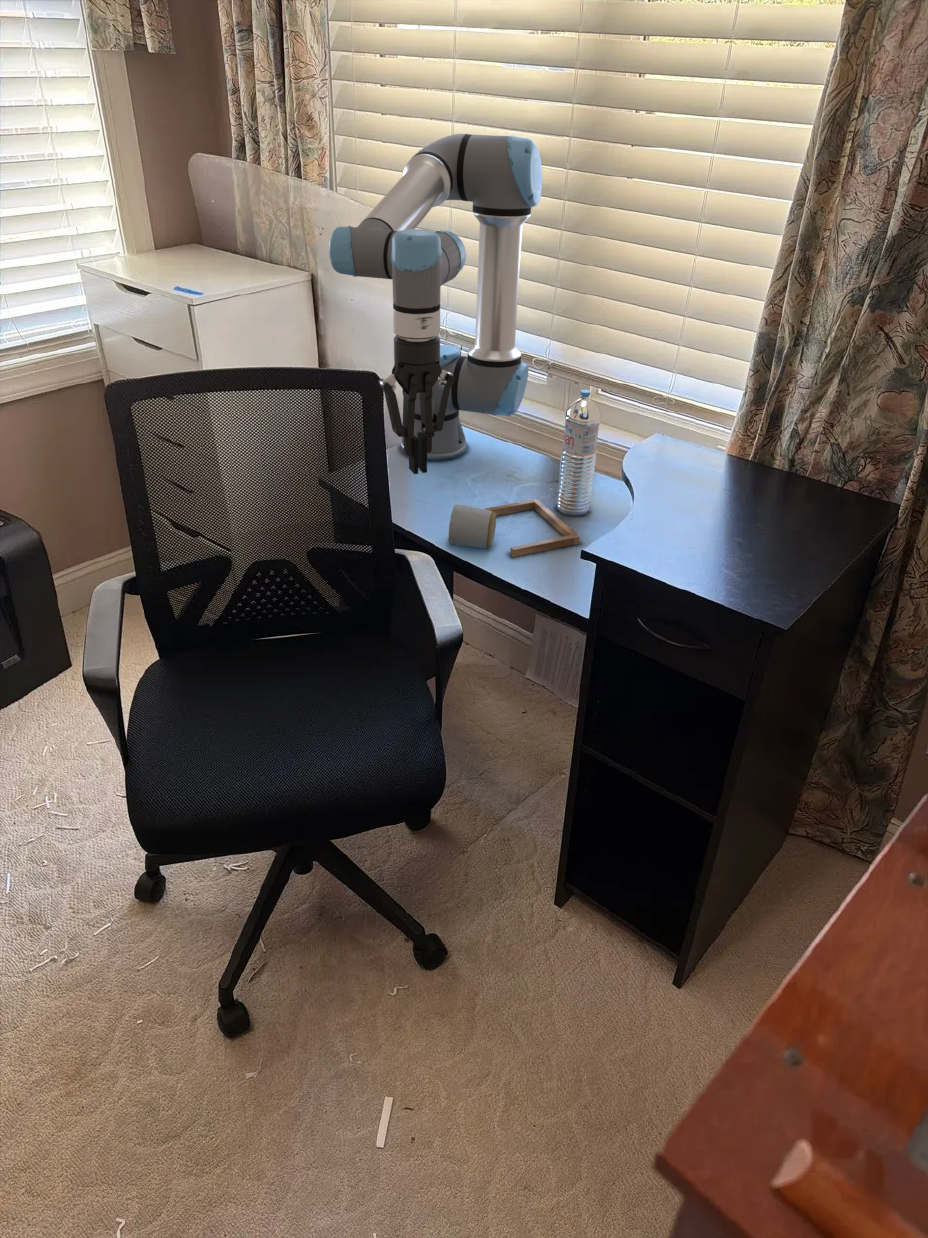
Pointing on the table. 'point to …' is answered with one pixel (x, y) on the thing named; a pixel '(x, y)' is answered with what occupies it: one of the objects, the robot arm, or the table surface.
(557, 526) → the oak frame
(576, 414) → the water bottle
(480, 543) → the ceramic mug
